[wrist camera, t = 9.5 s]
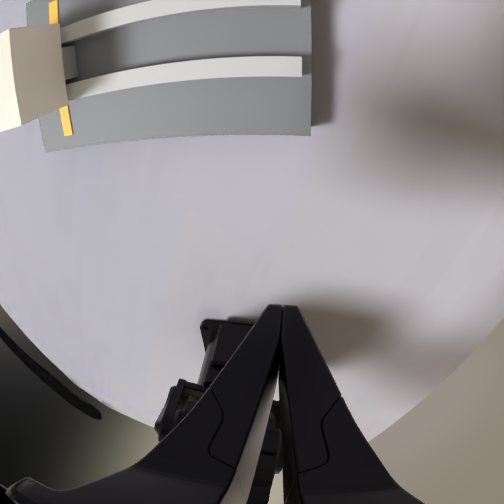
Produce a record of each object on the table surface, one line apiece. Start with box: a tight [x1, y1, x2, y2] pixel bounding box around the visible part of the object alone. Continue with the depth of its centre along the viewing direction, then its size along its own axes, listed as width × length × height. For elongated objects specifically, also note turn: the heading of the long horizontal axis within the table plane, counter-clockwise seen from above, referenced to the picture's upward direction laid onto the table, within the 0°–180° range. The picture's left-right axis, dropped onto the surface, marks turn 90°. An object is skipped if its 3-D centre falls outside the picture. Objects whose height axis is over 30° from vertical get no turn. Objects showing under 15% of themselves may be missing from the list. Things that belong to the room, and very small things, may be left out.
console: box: [26, 0, 312, 152], centre depth 14 cm, size 11×17×3 cm, turn 92°
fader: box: [0, 24, 78, 132], centre depth 12 cm, size 5×3×5 cm, turn 2°
